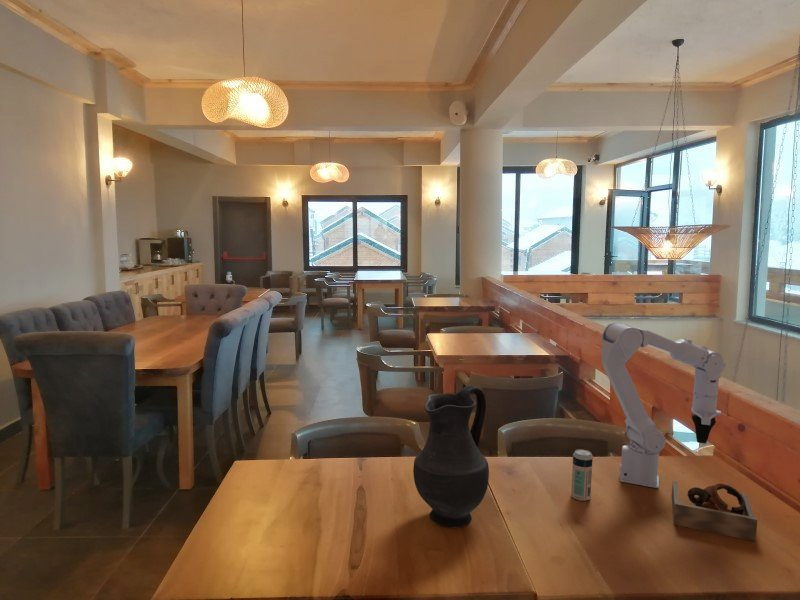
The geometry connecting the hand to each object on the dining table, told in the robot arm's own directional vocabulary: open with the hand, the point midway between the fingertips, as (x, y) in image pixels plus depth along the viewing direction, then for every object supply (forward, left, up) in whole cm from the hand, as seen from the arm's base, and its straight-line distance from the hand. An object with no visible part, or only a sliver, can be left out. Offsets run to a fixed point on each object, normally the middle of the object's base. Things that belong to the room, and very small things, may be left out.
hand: (701, 442), depth 148 cm
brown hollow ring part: (+2, -20, -11) cm, 22 cm away
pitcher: (-54, -48, -11) cm, 73 cm away
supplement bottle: (-28, -26, -11) cm, 40 cm away
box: (+1, -22, -10) cm, 24 cm away
